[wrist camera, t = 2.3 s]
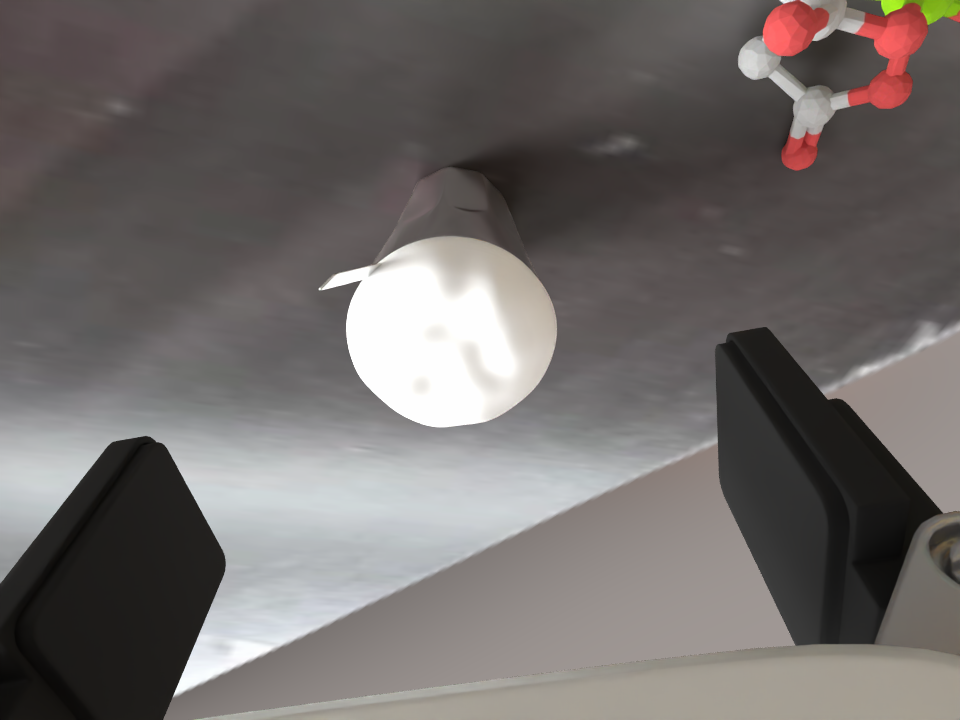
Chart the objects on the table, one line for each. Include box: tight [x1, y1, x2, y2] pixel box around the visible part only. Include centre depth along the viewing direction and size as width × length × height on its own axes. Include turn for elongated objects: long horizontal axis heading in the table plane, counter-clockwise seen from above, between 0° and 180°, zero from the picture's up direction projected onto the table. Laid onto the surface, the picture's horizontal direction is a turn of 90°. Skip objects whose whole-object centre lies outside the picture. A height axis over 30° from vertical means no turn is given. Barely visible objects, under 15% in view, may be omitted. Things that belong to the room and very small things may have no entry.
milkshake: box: [319, 166, 557, 427], centre depth 17 cm, size 5×5×10 cm
